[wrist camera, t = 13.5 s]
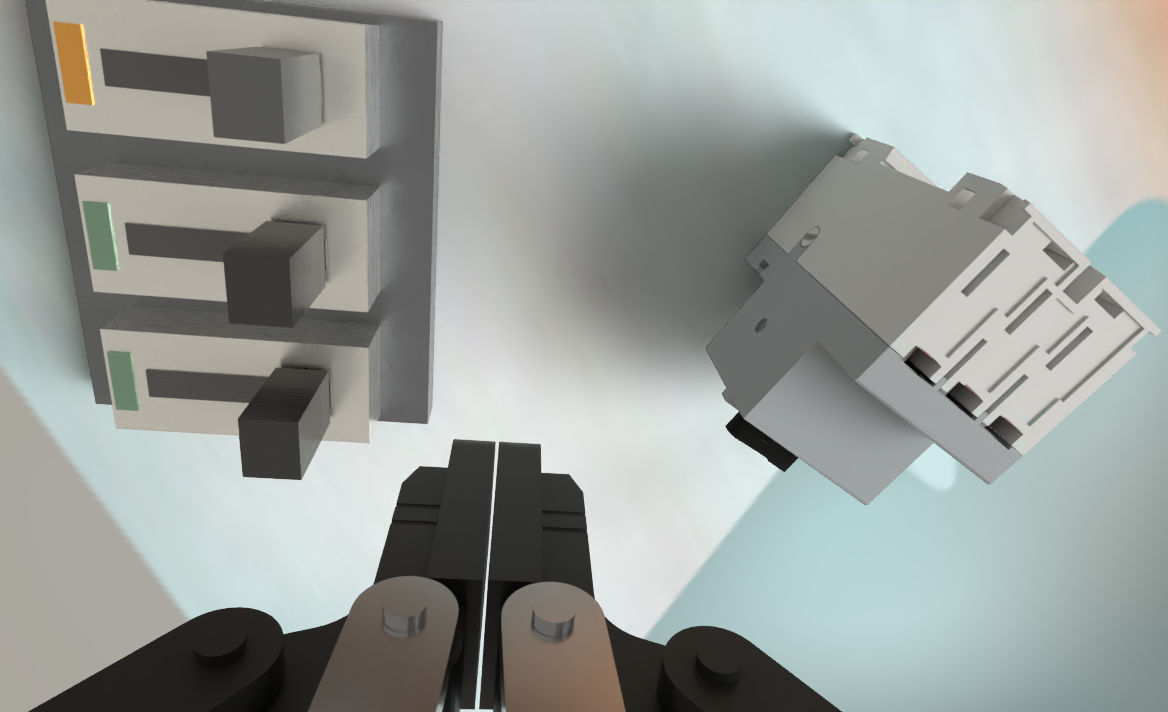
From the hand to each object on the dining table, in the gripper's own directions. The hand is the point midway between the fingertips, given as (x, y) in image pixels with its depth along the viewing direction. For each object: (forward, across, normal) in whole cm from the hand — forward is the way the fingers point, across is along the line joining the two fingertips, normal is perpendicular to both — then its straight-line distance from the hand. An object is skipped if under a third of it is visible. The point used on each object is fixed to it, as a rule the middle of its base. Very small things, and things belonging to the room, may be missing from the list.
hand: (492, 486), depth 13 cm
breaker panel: (+27, +12, +3) cm, 30 cm away
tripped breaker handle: (+22, +9, -4) cm, 24 cm away
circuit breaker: (+27, -16, +4) cm, 32 cm away
